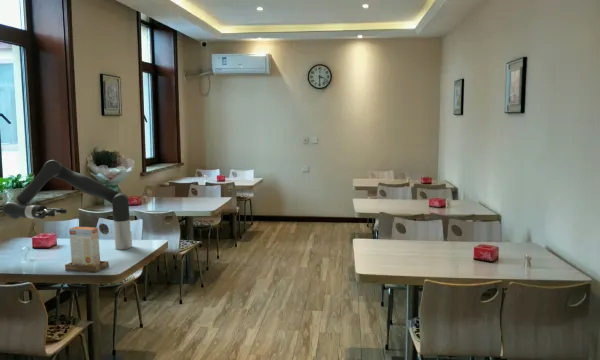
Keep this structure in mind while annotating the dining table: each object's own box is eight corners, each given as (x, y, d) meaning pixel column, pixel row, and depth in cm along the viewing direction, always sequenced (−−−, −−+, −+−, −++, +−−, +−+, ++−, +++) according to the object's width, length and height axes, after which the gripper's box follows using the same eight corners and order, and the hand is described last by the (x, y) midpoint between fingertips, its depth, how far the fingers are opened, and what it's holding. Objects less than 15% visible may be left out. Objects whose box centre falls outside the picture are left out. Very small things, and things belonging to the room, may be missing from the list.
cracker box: (101, 266, 266) (98, 227, 264) (93, 269, 260) (90, 229, 258) (79, 264, 271) (77, 225, 268) (71, 267, 265) (68, 228, 262)
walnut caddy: (79, 264, 273) (79, 259, 273) (108, 266, 268) (108, 261, 268) (65, 270, 263) (64, 264, 263) (95, 272, 258) (94, 267, 258)
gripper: (25, 207, 271) (49, 208, 266) (45, 203, 285) (69, 203, 280) (26, 221, 272) (51, 222, 267) (46, 216, 285) (70, 217, 281)
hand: (60, 212), depth 274 cm, fingers open, 8 cm apart
